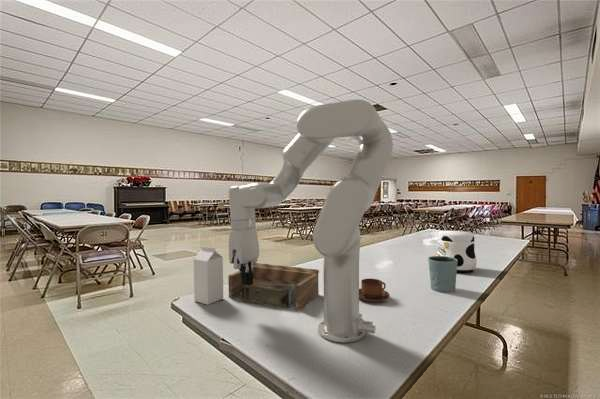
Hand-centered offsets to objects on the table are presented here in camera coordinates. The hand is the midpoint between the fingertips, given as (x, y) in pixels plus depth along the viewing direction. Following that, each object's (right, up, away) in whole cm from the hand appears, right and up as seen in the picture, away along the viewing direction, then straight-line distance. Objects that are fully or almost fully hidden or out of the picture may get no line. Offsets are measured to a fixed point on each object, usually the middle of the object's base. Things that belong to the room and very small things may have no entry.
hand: (247, 284), depth 90 cm
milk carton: (-16, -10, +14) cm, 23 cm away
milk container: (+92, -8, +51) cm, 106 cm away
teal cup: (+71, -9, +22) cm, 75 cm away
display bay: (+7, -9, +17) cm, 21 cm away
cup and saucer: (+42, -9, +14) cm, 45 cm away
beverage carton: (+5, -10, +12) cm, 17 cm away
